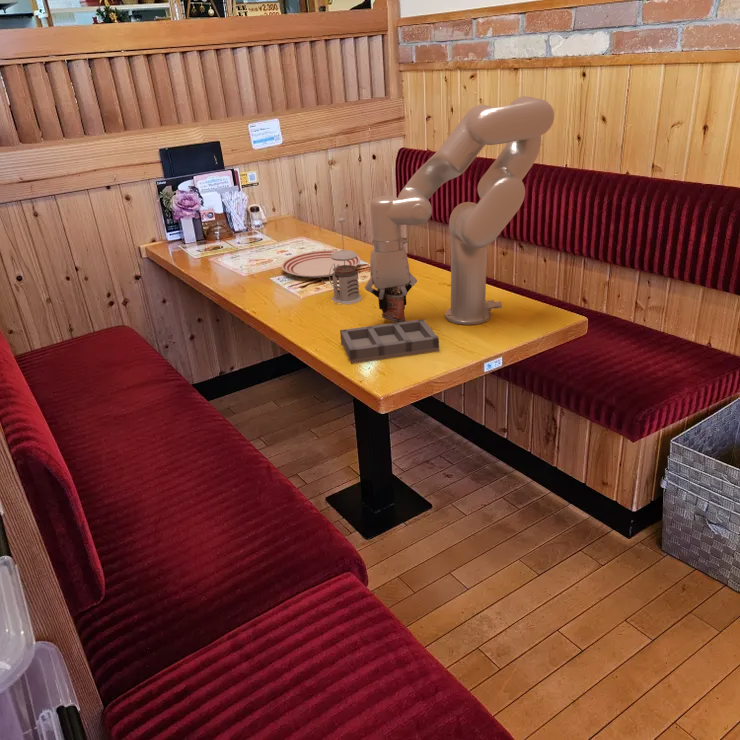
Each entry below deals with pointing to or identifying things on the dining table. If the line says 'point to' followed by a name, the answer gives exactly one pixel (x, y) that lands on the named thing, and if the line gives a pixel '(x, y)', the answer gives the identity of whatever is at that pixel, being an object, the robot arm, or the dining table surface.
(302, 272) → the dinner plate
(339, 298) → the french press
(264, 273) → the dining table surface
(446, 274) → the dining table surface
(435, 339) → the tray
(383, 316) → the lighter
